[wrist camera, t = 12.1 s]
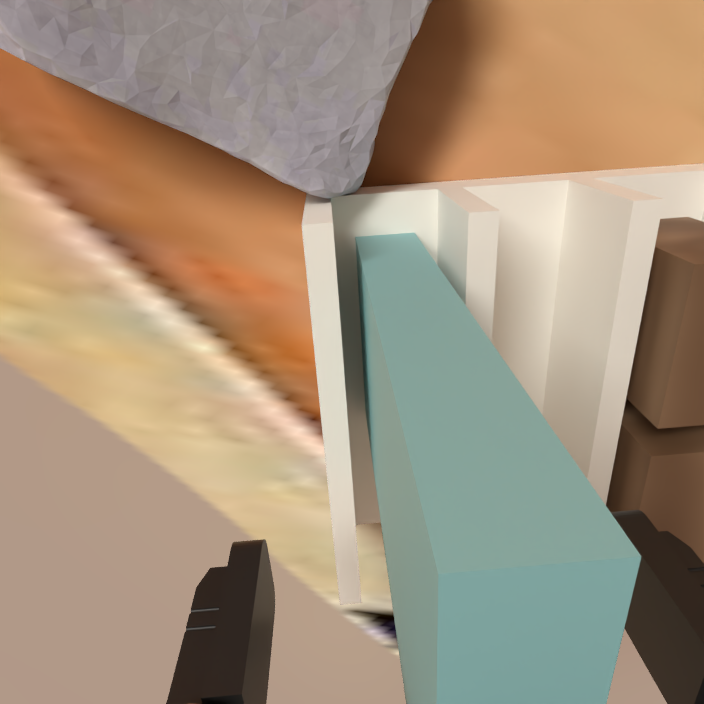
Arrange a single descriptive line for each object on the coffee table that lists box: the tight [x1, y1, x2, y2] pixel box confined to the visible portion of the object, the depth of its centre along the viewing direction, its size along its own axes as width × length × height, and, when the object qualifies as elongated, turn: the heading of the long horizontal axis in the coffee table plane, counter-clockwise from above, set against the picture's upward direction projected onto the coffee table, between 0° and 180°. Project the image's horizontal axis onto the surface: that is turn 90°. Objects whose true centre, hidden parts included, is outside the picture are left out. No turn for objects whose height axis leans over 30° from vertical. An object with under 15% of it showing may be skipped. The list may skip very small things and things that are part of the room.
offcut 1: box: [626, 217, 704, 429], centre depth 17 cm, size 3×5×5 cm, turn 3°
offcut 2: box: [606, 398, 704, 563], centre depth 19 cm, size 3×5×5 cm, turn 3°
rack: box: [302, 163, 704, 605], centre depth 19 cm, size 14×14×6 cm
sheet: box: [355, 233, 641, 704], centre depth 13 cm, size 2×7×14 cm, turn 4°
